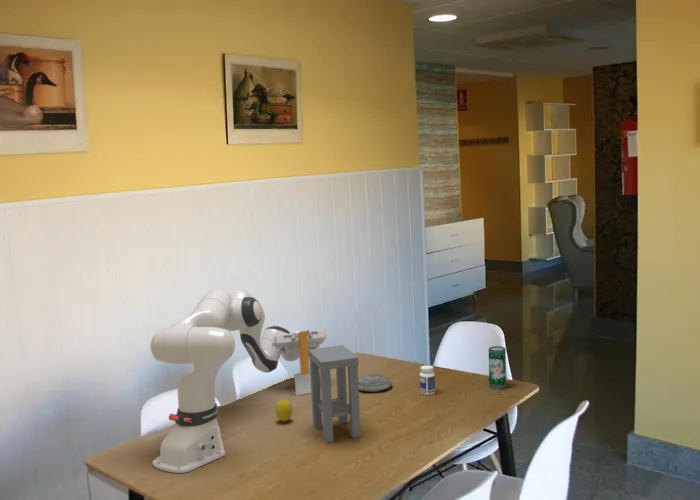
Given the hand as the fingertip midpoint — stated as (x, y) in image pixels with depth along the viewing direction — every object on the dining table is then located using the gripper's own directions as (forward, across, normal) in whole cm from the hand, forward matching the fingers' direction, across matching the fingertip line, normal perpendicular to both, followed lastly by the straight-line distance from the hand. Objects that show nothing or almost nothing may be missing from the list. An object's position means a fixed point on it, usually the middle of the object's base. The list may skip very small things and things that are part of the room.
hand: (303, 332), depth 250 cm
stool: (+22, 0, +40) cm, 45 cm away
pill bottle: (+3, +42, +30) cm, 52 cm away
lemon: (+8, -14, +32) cm, 36 cm away
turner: (-8, 0, +9) cm, 12 cm away
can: (+8, +69, +33) cm, 77 cm away
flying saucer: (-10, +26, +23) cm, 36 cm away
